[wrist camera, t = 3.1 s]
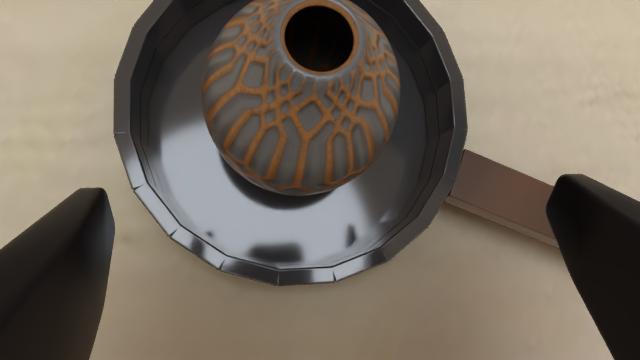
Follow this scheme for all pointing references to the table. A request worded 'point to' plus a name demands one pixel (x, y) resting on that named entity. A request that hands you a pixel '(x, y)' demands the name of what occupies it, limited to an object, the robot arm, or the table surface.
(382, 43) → the vase
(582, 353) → the table surface
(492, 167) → the pan handle
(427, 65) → the pan
